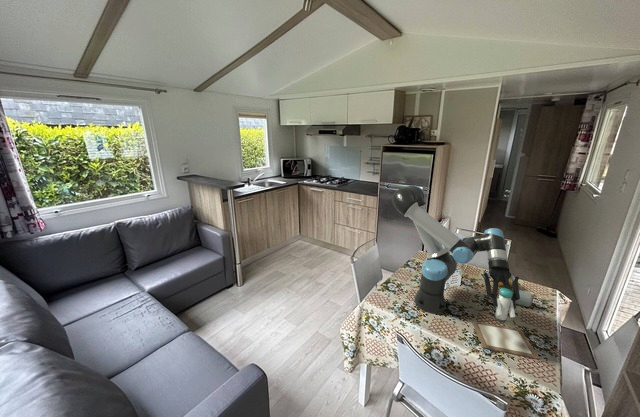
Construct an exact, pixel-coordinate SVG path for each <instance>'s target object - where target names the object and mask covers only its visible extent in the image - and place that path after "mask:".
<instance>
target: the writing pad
mask: <svg viewBox="0 0 640 417" xmlns="http://www.w3.org/2000/svg"><path fill="white" fill-rule="evenodd" d="M472 325H473V328H474V330H475V333H476V332H477V333H476V335H477V337H479V338H478V340H479V343H480V342H481V343H480V344H481V347H482V349H485V350H490V351H495V352H499V351H500V353H504V352H505V353H504V354H510V355H513V356H519V357H524V358H529V359H534V360H540V359H541V358H540V356H539V355H538V354H537V352H536V351H535V349H534V347H533V345H532V343H530V341H529V339H528V338H527V336H526V335H525V333H524V332H523V330H522V329H518V328H512V327H507V326H501V325H496V324H495V325H494V324H491V323H489V324H488V323H483V322H478V321H473V320H472Z"/></svg>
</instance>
